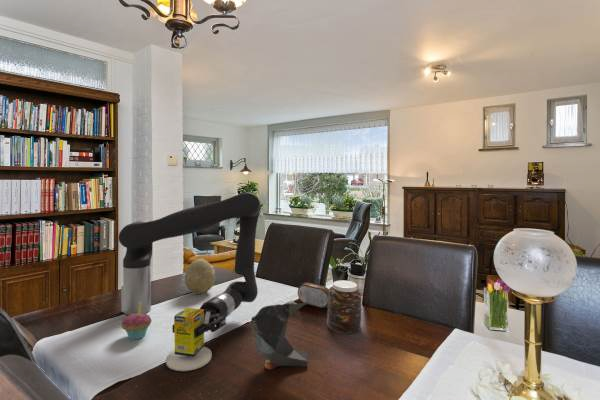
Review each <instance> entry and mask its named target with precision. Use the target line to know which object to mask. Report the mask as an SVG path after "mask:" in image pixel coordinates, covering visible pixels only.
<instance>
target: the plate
mask: <svg viewBox="0 0 600 400" xmlns="http://www.w3.org/2000/svg"><path fill="white" fill-rule="evenodd" d="M212 354H213V353H212V351H211V349H210V348H208V347H206V346H204V347H203V348H202V349H201V350H200V351H199V352H198V353H197V354H196V355H195V356H194V357H191V356H184V355H176V354H175V349H174V350H172V351H171V352H169V353H168V354H167V356H166V358H165V364H166V366H167V368H169V369H170V370H173V371H176V372H177V371H178V372H189V371H194V370H198V369H200V368H202V367H205V366H206V365H208V364H209V362H210V361H211V360H212V356H213V355H212Z"/></svg>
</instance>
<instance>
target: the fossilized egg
mask: <svg viewBox="0 0 600 400" xmlns="http://www.w3.org/2000/svg"><path fill="white" fill-rule="evenodd" d="M215 281H216V273H215V270H214V268H213V265H212V264H211V263H210V262H208V260H206V259H204V258H198V259H195V260H194V261H192V262H191V263H190V264H189V265H188V267H187V269H186V270H185V273H184V284H185V286H186V288H187V289H188V290H189V292H191V293H193V294H196V295H203V294H205V293H208V291H210V290H211V289H212V288H213V286H214V284H215Z"/></svg>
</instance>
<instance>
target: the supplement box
mask: <svg viewBox="0 0 600 400" xmlns="http://www.w3.org/2000/svg"><path fill="white" fill-rule="evenodd" d="M173 317H174V318H173V319H174V321H173V322H174V323H173V324H174V350H175V354H176V355H184V356H191V357H194V356H195V355H196V354H197V353H198V352H199V351H200V350H201V349H202V348H203V347H205V332H204V333H203V334H202V335H200V336H198V337H194V329H195V328H197V327H198V326H200V325H201V324H204V310H203V309H200V308H194V307H193V308H192V307H185V308H184V309H182V310H181V311H179V312H178V313H176V314H174V316H173Z"/></svg>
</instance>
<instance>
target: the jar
mask: <svg viewBox="0 0 600 400" xmlns="http://www.w3.org/2000/svg"><path fill="white" fill-rule="evenodd" d="M328 289H329V291H328V306H327V307H326V308H327V310H326V313H327V314H326V326H327V328H328V329H329V330H330V331H332V332H334V333H338V334H342V335H352V334H356V333H359V332H360V331H361V329H362V325H361V324H362V301H363V300H362V299H363V297H362V291H361V289H359V288H358V284H357V283H356V282H354V281H351V280H345V279H344V280H343V279H342V280H335V281H334V282H333V283H332V286H330V287H329V288H328Z"/></svg>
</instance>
